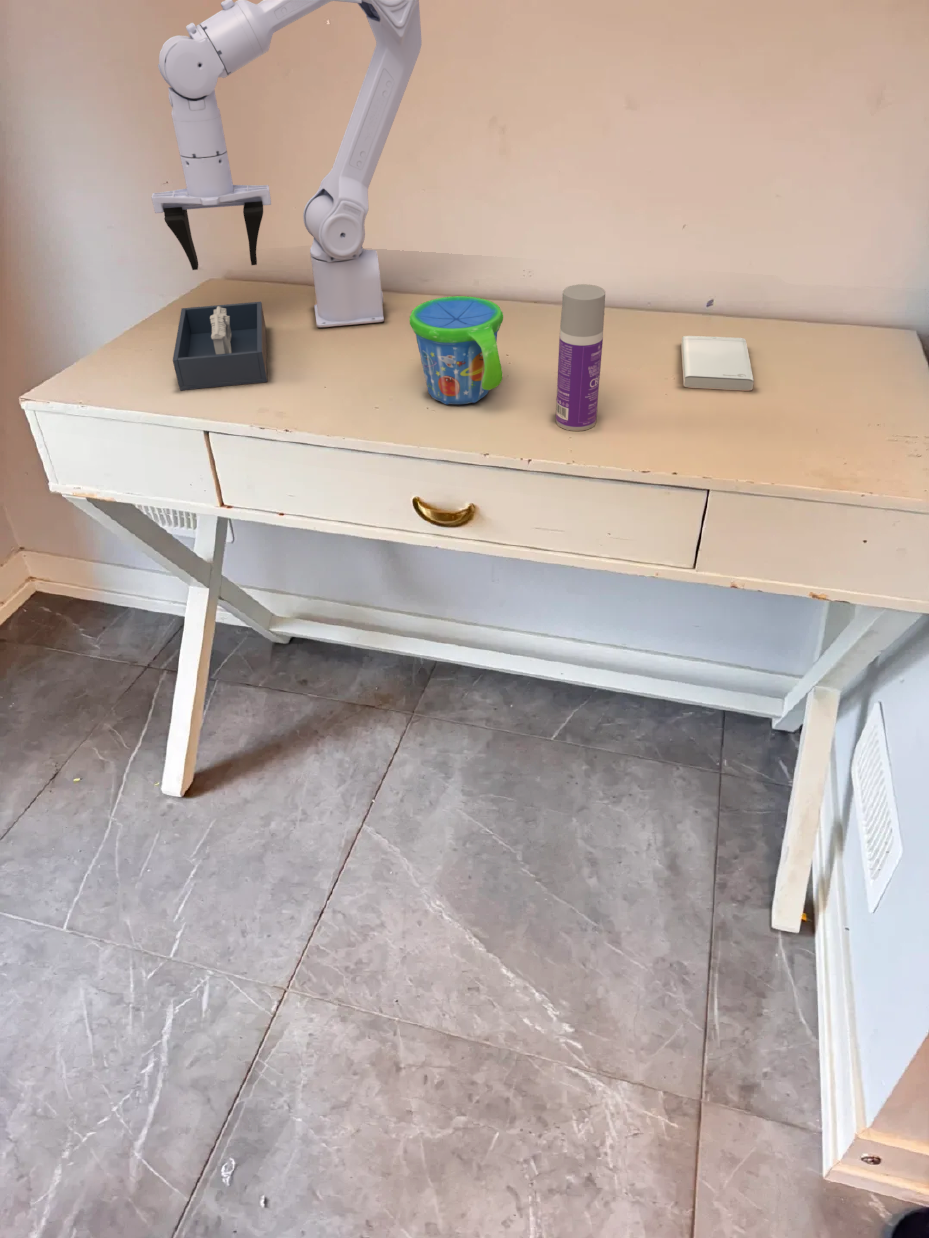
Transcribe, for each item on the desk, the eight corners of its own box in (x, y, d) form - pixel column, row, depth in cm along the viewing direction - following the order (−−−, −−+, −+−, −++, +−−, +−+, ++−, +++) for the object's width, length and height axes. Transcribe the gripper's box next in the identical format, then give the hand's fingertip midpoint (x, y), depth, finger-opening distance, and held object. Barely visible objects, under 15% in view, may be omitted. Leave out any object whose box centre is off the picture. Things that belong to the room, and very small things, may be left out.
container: (594, 432, 101) (604, 301, 91) (552, 429, 102) (559, 298, 92) (597, 413, 104) (608, 284, 95) (557, 410, 105) (564, 282, 96)
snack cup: (394, 378, 113) (388, 298, 106) (469, 361, 116) (467, 282, 110) (446, 430, 102) (443, 345, 96) (527, 410, 105) (529, 326, 99)
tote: (266, 329, 126) (261, 301, 123) (267, 382, 113) (262, 352, 110) (187, 336, 124) (181, 308, 122) (179, 390, 111) (172, 360, 109)
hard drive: (754, 379, 107) (746, 337, 116) (684, 375, 108) (682, 334, 117) (751, 392, 108) (744, 349, 117) (682, 388, 109) (680, 346, 118)
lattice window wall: (220, 337, 123) (211, 294, 119) (233, 336, 123) (225, 293, 119) (217, 374, 114) (208, 329, 110) (232, 373, 114) (222, 328, 110)
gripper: (139, 164, 106) (166, 280, 115) (263, 156, 108) (280, 270, 117) (145, 150, 111) (170, 262, 120) (262, 143, 113) (279, 253, 122)
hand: (224, 265), depth 119 cm, fingers open, 7 cm apart
